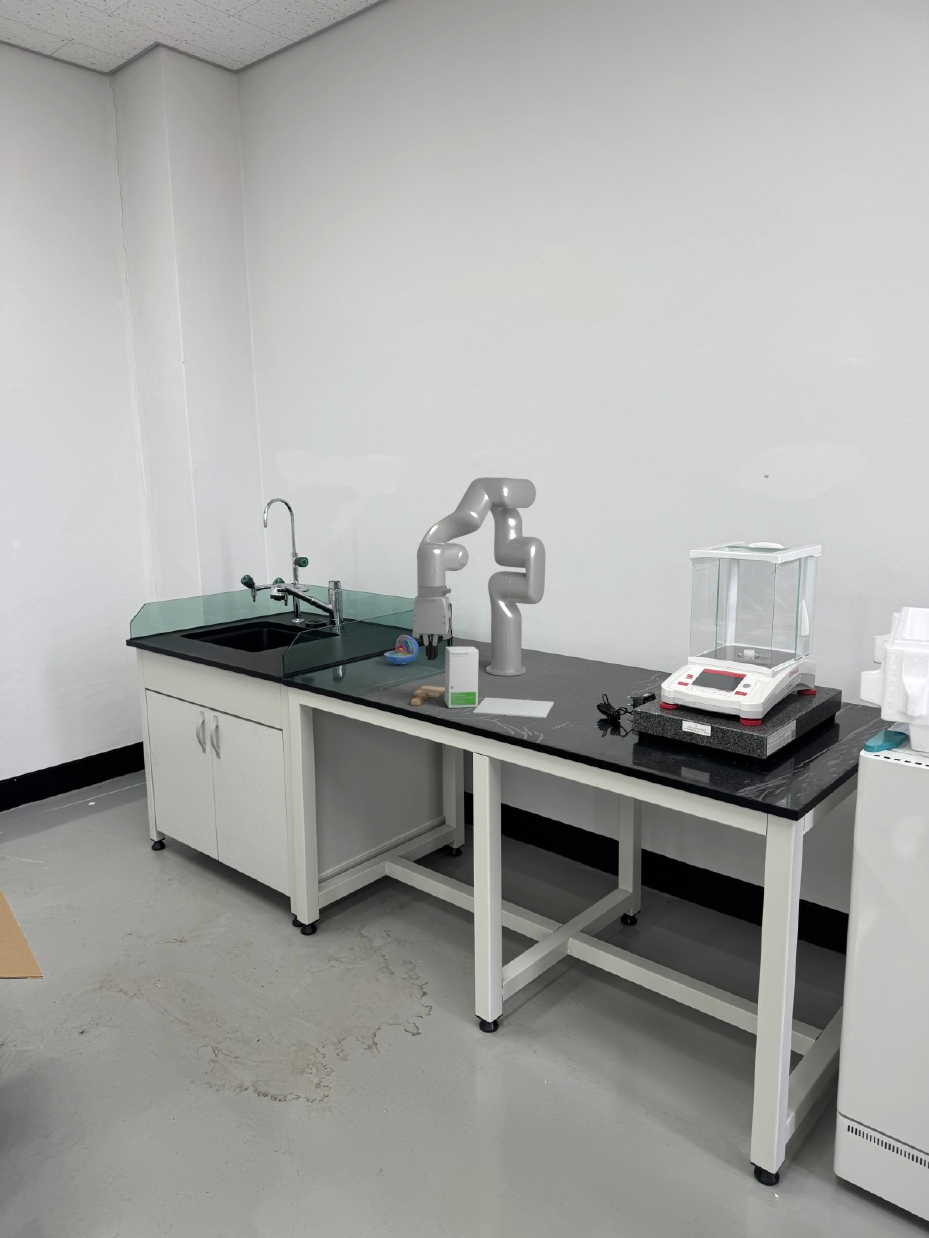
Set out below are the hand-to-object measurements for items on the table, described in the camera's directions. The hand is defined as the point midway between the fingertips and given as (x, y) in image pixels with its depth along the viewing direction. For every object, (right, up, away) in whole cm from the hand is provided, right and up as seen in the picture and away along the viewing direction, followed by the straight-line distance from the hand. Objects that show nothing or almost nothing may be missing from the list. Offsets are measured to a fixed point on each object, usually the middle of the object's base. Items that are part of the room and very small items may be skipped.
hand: (431, 659), depth 235 cm
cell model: (-12, -4, +49) cm, 50 cm away
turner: (-2, -11, +10) cm, 14 cm away
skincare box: (+8, -12, 0) cm, 15 cm away
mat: (+22, -13, -3) cm, 26 cm away
